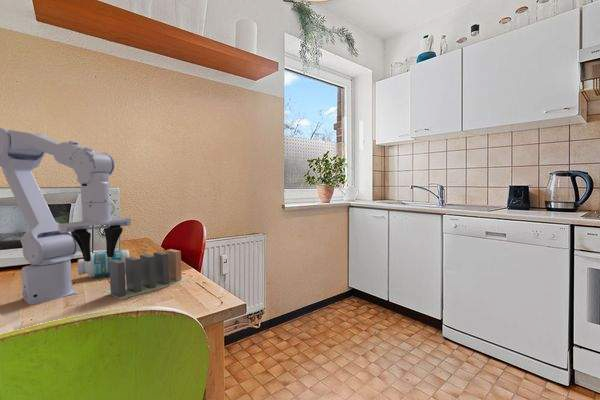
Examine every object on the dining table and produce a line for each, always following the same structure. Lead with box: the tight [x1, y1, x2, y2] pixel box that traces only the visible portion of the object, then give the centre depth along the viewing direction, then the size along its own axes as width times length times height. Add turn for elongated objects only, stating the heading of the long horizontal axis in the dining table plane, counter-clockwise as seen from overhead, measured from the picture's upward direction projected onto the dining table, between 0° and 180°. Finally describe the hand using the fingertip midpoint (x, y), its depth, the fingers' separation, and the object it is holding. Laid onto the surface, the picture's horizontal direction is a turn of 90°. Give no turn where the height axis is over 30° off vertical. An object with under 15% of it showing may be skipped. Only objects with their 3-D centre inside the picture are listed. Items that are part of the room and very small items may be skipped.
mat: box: [104, 277, 188, 300], centre depth 83 cm, size 18×10×1 cm, turn 143°
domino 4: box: [153, 251, 169, 285], centre depth 85 cm, size 2×5×8 cm, turn 53°
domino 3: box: [139, 253, 156, 289], centre depth 81 cm, size 2×5×8 cm, turn 53°
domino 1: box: [109, 260, 126, 298], centre depth 75 cm, size 2×5×8 cm, turn 53°
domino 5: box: [165, 248, 183, 281], centre depth 88 cm, size 2×5×8 cm, turn 53°
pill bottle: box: [77, 249, 130, 278], centre depth 94 cm, size 8×7×14 cm
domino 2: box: [125, 256, 142, 293], centre depth 78 cm, size 2×5×8 cm, turn 53°
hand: (99, 258), depth 72 cm, fingers open, 4 cm apart
